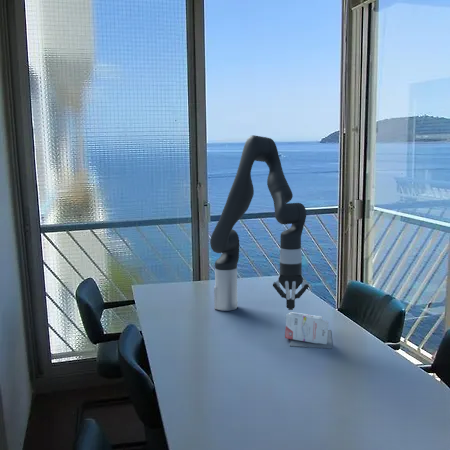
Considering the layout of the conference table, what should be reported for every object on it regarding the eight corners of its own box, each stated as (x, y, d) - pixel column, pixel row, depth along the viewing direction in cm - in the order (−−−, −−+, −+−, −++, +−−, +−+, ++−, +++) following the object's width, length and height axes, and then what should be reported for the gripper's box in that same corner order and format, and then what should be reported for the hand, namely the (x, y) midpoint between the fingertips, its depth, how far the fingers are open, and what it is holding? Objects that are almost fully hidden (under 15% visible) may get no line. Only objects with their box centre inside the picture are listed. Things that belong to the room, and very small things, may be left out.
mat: (289, 346, 168) (289, 345, 168) (292, 328, 185) (292, 328, 185) (332, 348, 166) (332, 347, 166) (330, 330, 182) (330, 329, 182)
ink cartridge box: (288, 334, 178) (329, 342, 172) (284, 338, 173) (326, 346, 167) (290, 311, 177) (331, 317, 171) (286, 314, 173) (328, 320, 167)
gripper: (270, 262, 170) (270, 311, 173) (309, 263, 168) (309, 313, 170) (272, 258, 177) (272, 305, 180) (310, 258, 175) (310, 306, 177)
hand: (290, 309), depth 175 cm, fingers closed
